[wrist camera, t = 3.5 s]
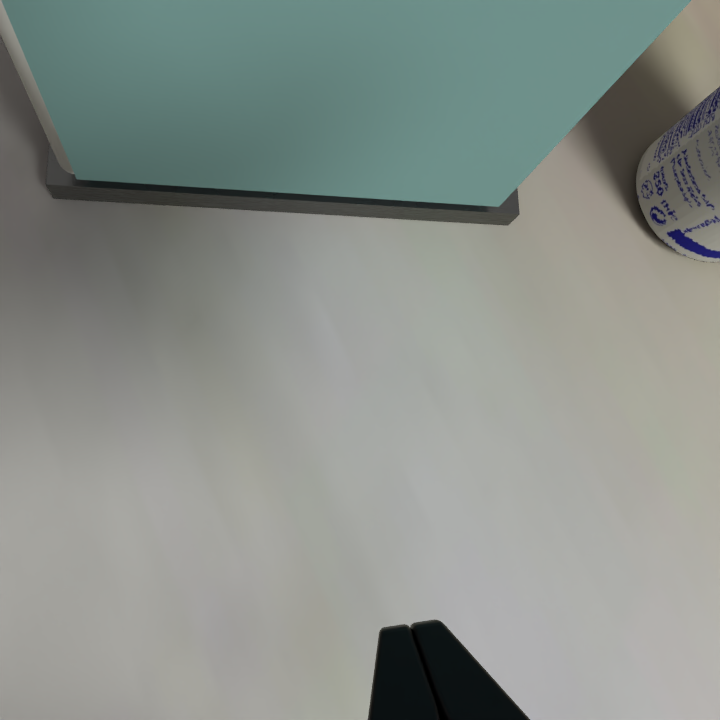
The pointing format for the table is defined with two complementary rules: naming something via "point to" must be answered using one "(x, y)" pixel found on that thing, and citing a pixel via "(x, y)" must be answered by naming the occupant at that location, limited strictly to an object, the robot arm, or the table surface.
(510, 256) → the table surface
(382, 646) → the robot arm
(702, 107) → the beverage can
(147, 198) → the grey square frame stand
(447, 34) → the teal square panel
